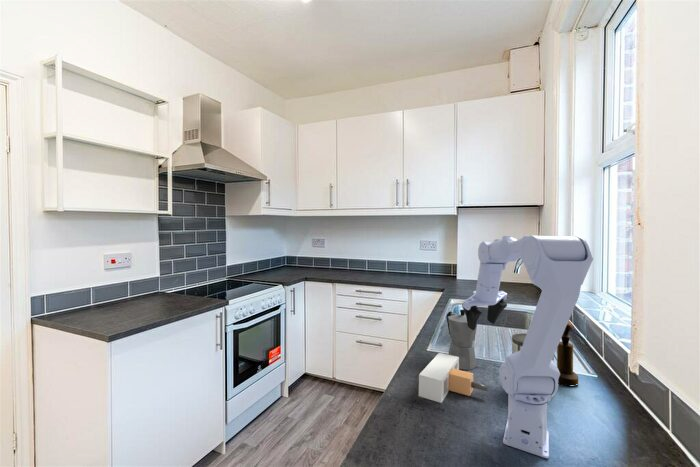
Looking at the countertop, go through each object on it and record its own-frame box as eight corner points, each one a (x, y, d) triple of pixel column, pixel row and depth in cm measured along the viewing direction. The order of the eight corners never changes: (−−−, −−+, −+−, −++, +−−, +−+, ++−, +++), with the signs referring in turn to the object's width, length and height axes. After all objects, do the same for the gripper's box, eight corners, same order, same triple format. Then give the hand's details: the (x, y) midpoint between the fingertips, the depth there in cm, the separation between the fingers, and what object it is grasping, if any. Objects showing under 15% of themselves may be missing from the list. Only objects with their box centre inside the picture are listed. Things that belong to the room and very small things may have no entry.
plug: (486, 400, 80) (486, 383, 80) (436, 386, 87) (436, 370, 87) (488, 394, 84) (489, 377, 84) (440, 380, 91) (440, 365, 91)
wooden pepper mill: (554, 374, 97) (555, 316, 96) (580, 381, 92) (581, 320, 92) (548, 381, 92) (550, 320, 92) (575, 389, 87) (577, 325, 87)
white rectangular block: (441, 403, 79) (442, 380, 79) (418, 396, 83) (419, 374, 83) (458, 375, 95) (459, 357, 94) (438, 370, 98) (439, 352, 98)
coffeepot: (487, 371, 98) (488, 314, 98) (461, 374, 95) (462, 315, 95) (458, 352, 113) (459, 302, 113) (434, 355, 110) (435, 304, 110)
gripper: (496, 272, 93) (489, 312, 97) (457, 281, 87) (452, 323, 92) (516, 283, 87) (507, 324, 91) (476, 293, 81) (469, 337, 86)
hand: (481, 324), depth 91 cm, fingers open, 7 cm apart
